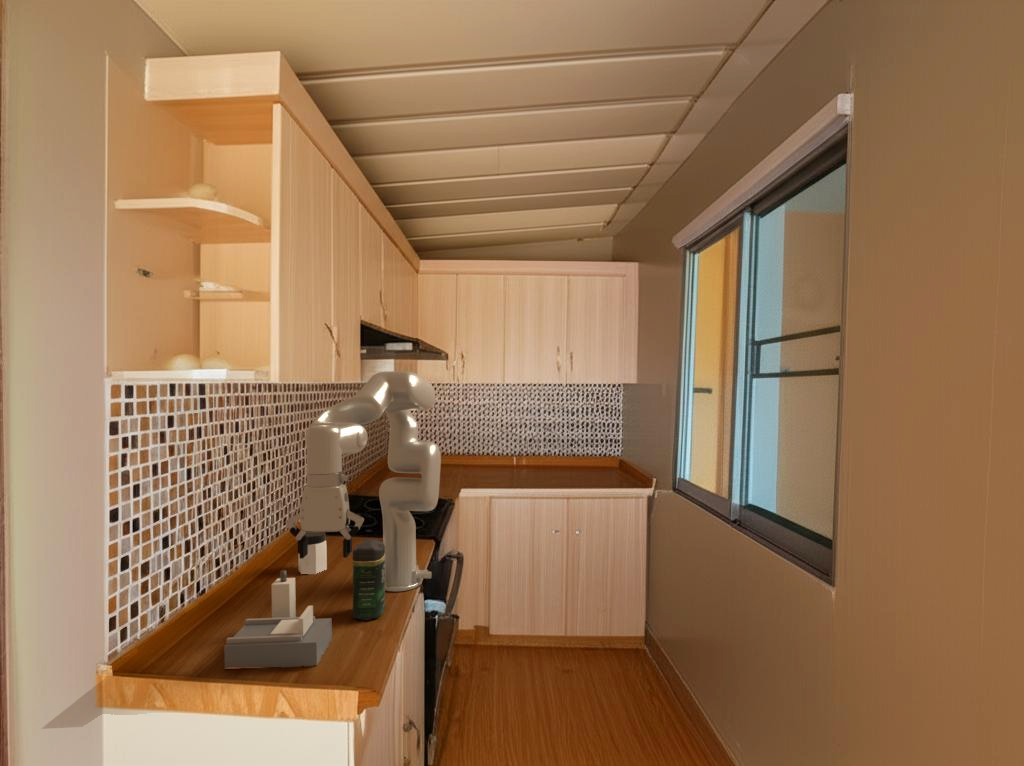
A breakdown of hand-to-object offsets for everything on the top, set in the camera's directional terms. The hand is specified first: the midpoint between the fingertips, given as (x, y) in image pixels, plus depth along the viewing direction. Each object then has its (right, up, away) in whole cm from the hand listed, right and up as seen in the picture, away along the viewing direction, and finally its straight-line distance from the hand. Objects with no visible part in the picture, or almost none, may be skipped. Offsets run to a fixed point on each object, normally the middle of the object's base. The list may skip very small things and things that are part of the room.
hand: (325, 556), depth 124 cm
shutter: (-7, -16, -2) cm, 17 cm away
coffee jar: (+5, -21, +19) cm, 29 cm away
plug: (-13, -21, +10) cm, 27 cm away
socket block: (-9, -21, -2) cm, 23 cm away
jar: (-22, -21, +53) cm, 61 cm away
